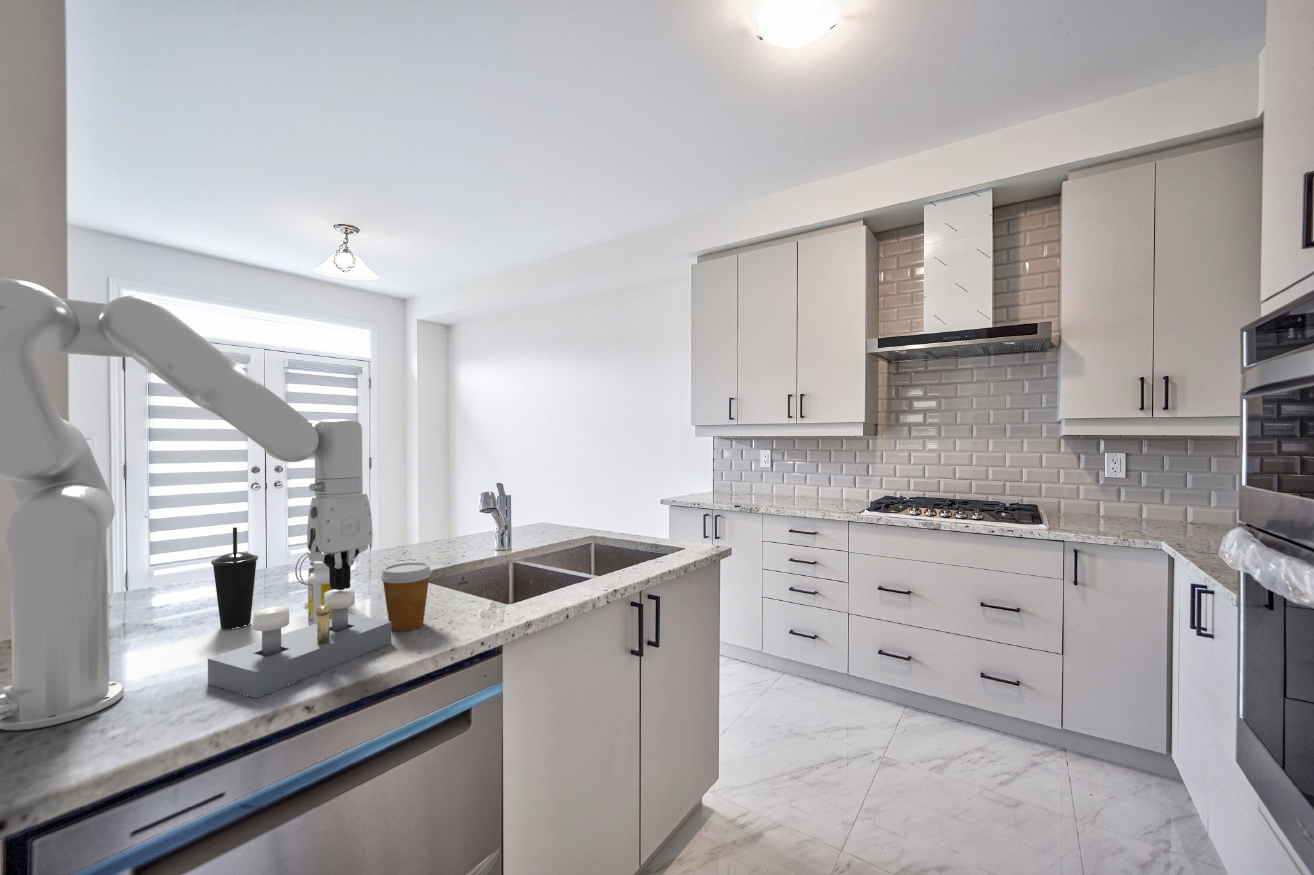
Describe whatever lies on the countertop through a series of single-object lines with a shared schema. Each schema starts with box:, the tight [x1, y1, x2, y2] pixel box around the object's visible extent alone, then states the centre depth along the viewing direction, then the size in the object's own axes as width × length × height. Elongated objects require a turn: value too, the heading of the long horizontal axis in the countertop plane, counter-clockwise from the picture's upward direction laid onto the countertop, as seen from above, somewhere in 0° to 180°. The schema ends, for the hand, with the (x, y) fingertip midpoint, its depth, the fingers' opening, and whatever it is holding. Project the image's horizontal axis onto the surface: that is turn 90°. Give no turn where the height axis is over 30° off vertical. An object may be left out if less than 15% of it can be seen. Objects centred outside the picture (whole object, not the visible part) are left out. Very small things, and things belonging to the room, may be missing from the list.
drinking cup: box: [211, 526, 259, 630], centre depth 114 cm, size 8×8×20 cm
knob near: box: [252, 606, 290, 656], centre depth 91 cm, size 5×5×7 cm
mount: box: [207, 613, 392, 699], centre depth 96 cm, size 24×12×4 cm, turn 156°
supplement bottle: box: [307, 561, 334, 626], centre depth 117 cm, size 7×7×13 cm
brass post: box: [316, 605, 331, 644], centre depth 95 cm, size 2×2×6 cm
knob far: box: [324, 587, 356, 632], centre depth 102 cm, size 5×5×7 cm
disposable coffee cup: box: [379, 561, 432, 632], centre depth 114 cm, size 10×10×12 cm
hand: (340, 588), depth 102 cm, fingers closed
